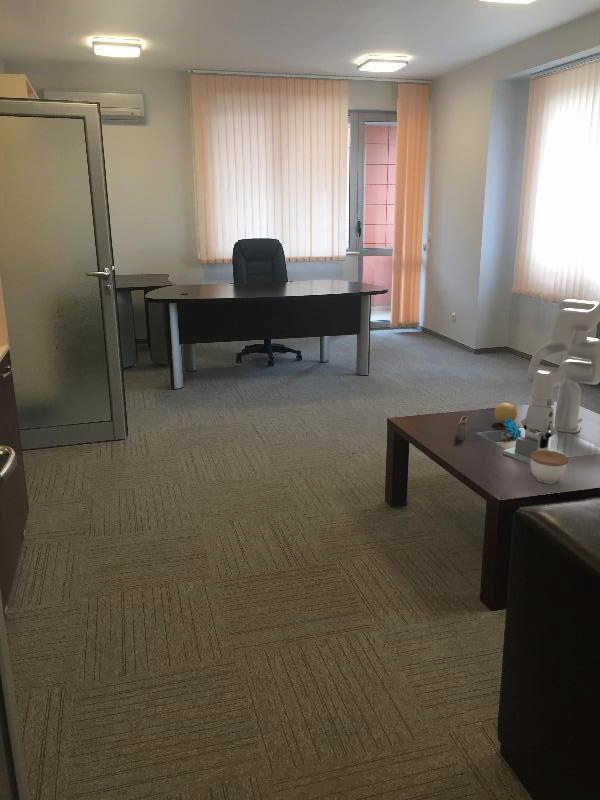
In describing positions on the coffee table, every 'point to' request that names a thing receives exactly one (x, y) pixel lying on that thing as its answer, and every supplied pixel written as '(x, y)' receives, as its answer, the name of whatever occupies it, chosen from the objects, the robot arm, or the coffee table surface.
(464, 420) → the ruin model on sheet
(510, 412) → the stress ball
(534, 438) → the grey box with knob
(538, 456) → the lidded bowl
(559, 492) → the coffee table surface
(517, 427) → the gear
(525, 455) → the plate with grey stand
